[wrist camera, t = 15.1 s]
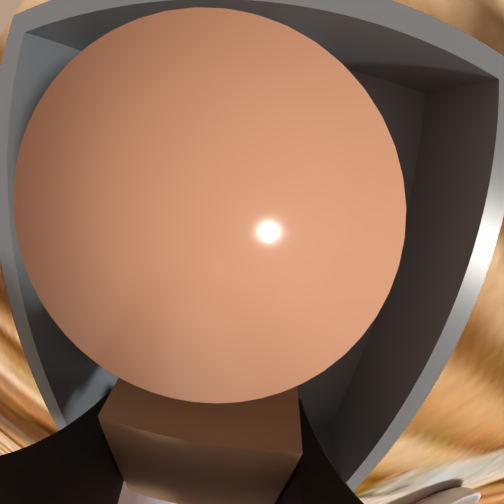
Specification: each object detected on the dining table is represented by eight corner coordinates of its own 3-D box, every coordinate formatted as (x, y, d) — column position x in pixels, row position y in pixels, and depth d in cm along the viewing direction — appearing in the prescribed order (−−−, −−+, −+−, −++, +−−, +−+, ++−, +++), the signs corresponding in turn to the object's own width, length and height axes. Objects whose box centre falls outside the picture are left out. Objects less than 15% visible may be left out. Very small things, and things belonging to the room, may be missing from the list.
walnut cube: (268, 419, 12) (267, 515, 8) (161, 402, 12) (129, 491, 8) (292, 335, 11) (302, 453, 6) (154, 314, 11) (97, 416, 6)
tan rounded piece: (306, 256, 10) (340, 418, 4) (165, 237, 11) (42, 356, 4) (328, 110, 9) (430, 46, 2) (176, 95, 9) (25, 42, 2)
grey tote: (336, 423, 15) (349, 495, 10) (104, 388, 15) (70, 451, 10) (434, 84, 9) (517, 65, 4) (93, 46, 9) (13, 15, 4)
